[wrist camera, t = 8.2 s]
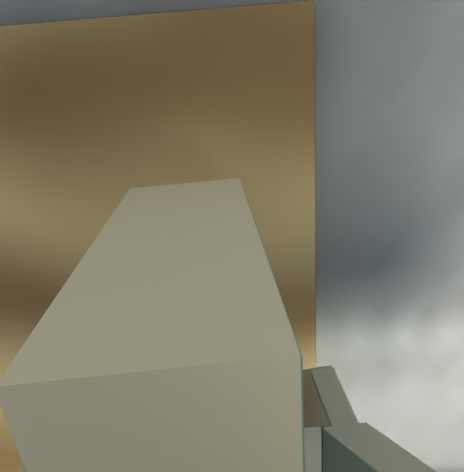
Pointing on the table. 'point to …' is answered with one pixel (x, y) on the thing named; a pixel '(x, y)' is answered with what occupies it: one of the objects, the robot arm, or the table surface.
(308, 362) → the mat
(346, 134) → the table surface
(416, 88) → the table surface
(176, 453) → the card box
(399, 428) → the table surface
